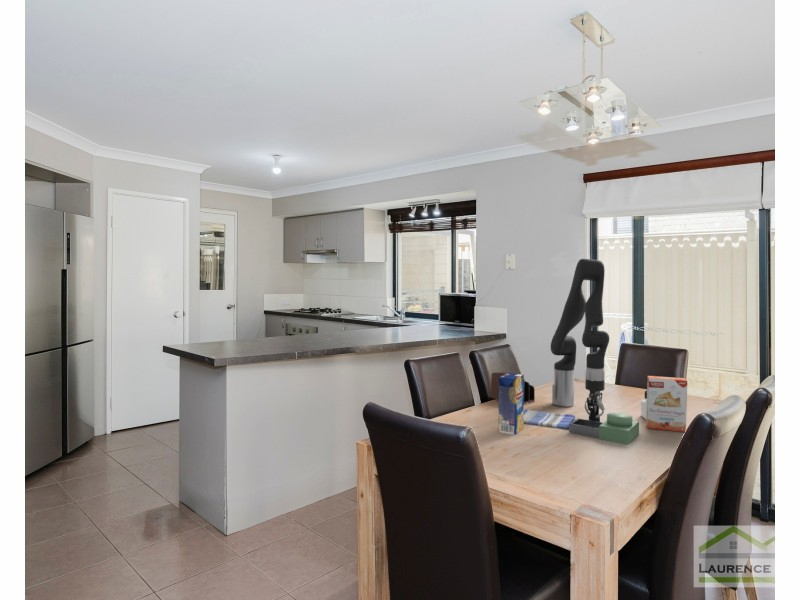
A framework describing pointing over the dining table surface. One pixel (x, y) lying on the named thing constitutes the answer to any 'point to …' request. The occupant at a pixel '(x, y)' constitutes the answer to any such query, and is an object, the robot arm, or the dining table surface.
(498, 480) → the dining table surface
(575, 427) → the frame
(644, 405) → the medicine bottle
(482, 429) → the dining table surface
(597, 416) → the watch
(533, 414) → the dish towel
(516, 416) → the beverage box
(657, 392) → the cracker box
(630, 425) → the green block with dome
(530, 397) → the letter holder
